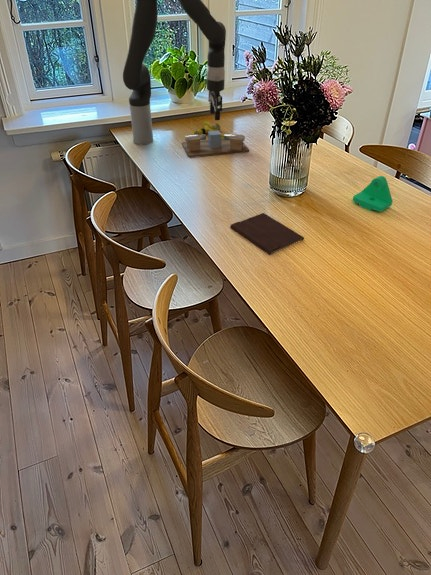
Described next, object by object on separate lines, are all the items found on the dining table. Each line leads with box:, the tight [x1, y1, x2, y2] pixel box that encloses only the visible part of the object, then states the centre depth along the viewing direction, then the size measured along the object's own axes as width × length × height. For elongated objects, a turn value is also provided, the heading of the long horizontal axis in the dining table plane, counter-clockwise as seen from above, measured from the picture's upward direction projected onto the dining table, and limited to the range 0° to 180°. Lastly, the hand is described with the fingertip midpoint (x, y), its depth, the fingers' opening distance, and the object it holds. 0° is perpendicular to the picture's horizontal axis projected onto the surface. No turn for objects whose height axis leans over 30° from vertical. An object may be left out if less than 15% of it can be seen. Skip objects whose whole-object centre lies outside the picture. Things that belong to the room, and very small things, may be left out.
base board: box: [181, 133, 250, 158], centre depth 204 cm, size 16×28×6 cm, turn 104°
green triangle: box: [352, 175, 393, 212], centre depth 161 cm, size 12×8×10 cm, turn 43°
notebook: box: [230, 212, 305, 256], centre depth 148 cm, size 15×20×2 cm
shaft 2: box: [223, 133, 246, 142], centre depth 201 cm, size 2×9×2 cm, turn 79°
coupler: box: [207, 130, 222, 148], centre depth 203 cm, size 5×5×6 cm
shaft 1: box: [184, 134, 207, 142], centre depth 201 cm, size 2×9×2 cm, turn 104°
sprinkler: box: [193, 119, 224, 139], centre depth 219 cm, size 19×4×15 cm
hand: (214, 116), depth 197 cm, fingers open, 8 cm apart
